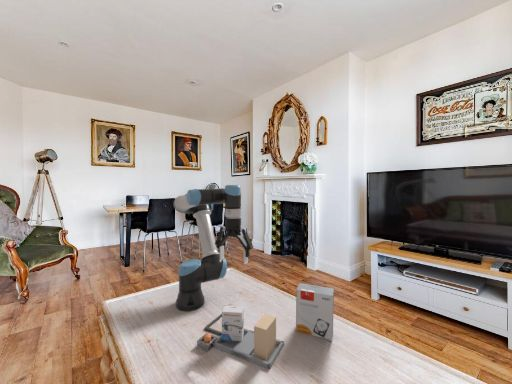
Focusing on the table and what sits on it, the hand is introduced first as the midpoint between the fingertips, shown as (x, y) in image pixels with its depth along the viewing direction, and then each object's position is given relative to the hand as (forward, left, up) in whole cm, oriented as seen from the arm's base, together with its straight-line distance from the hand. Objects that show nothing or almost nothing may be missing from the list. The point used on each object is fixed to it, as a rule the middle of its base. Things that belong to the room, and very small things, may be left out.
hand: (233, 261), depth 115 cm
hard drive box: (+37, +8, -29) cm, 48 cm away
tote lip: (-2, -5, -29) cm, 29 cm away
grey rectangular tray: (+16, -14, -29) cm, 36 cm away
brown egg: (0, -20, -28) cm, 35 cm away
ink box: (+9, -14, -26) cm, 31 cm away
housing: (0, -20, -29) cm, 35 cm away
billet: (+24, -14, -28) cm, 39 cm away
